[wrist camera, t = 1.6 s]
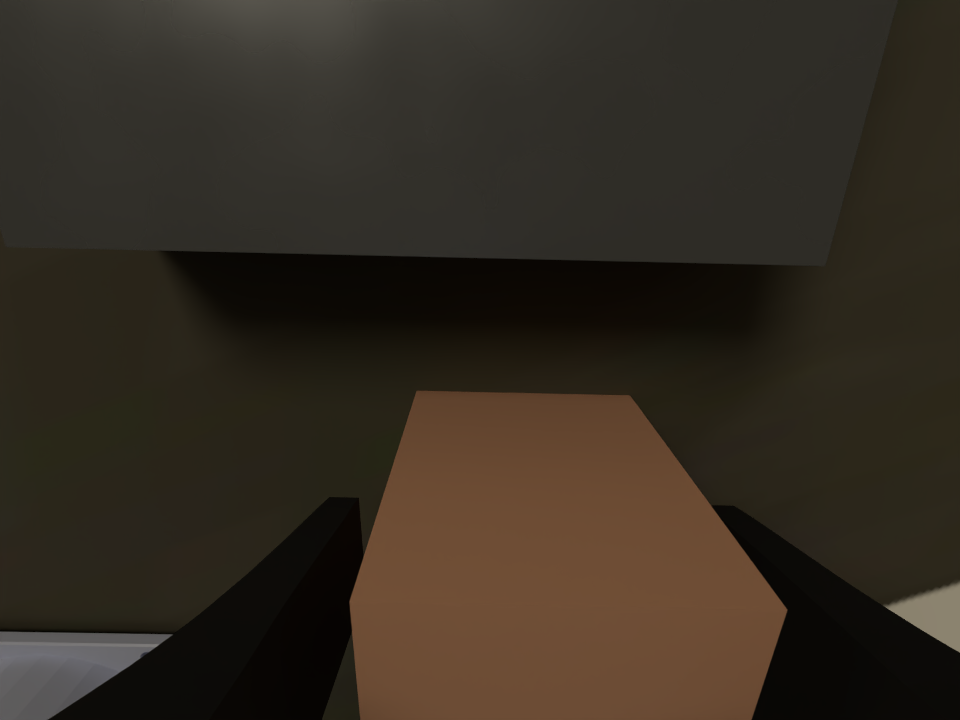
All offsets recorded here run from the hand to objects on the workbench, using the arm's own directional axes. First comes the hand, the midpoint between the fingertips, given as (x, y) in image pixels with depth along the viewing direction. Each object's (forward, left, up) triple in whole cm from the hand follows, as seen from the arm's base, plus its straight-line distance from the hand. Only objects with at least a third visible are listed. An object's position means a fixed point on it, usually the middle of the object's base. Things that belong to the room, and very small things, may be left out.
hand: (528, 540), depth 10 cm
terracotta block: (0, 0, -2) cm, 2 cm away
